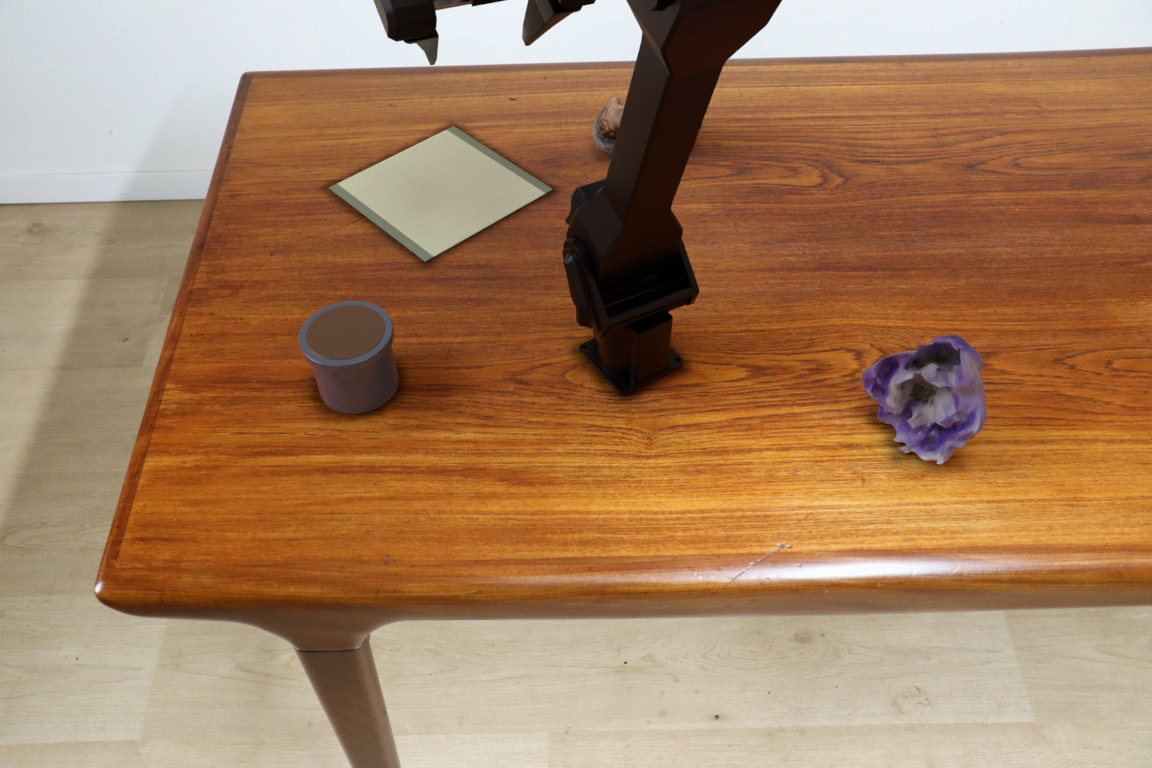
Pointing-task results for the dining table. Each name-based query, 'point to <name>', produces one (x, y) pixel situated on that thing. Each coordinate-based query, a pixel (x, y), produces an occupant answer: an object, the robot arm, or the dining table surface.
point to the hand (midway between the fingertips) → (478, 51)
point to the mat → (439, 192)
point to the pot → (351, 355)
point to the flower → (930, 396)
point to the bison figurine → (608, 125)
